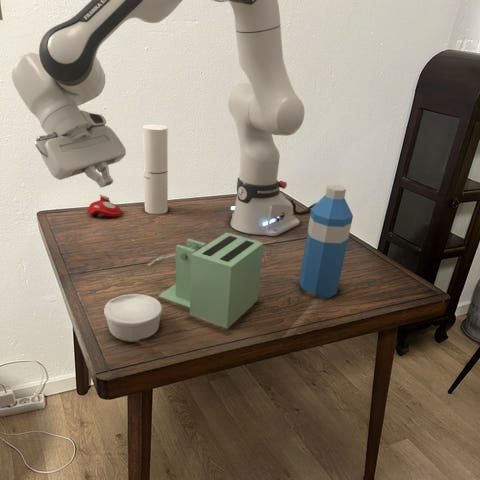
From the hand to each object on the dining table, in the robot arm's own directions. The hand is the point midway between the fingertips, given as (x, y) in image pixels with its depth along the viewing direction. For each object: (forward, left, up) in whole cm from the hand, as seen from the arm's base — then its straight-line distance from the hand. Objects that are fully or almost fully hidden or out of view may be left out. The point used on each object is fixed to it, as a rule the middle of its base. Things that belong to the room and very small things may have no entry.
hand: (107, 184), depth 108 cm
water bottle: (-36, +34, -22) cm, 54 cm away
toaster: (-11, +29, -21) cm, 38 cm away
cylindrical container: (-32, -30, -22) cm, 49 cm away
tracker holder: (-18, -36, -22) cm, 45 cm away
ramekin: (+9, +24, -22) cm, 34 cm away
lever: (-6, +17, -13) cm, 23 cm away
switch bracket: (-7, +21, -21) cm, 31 cm away
